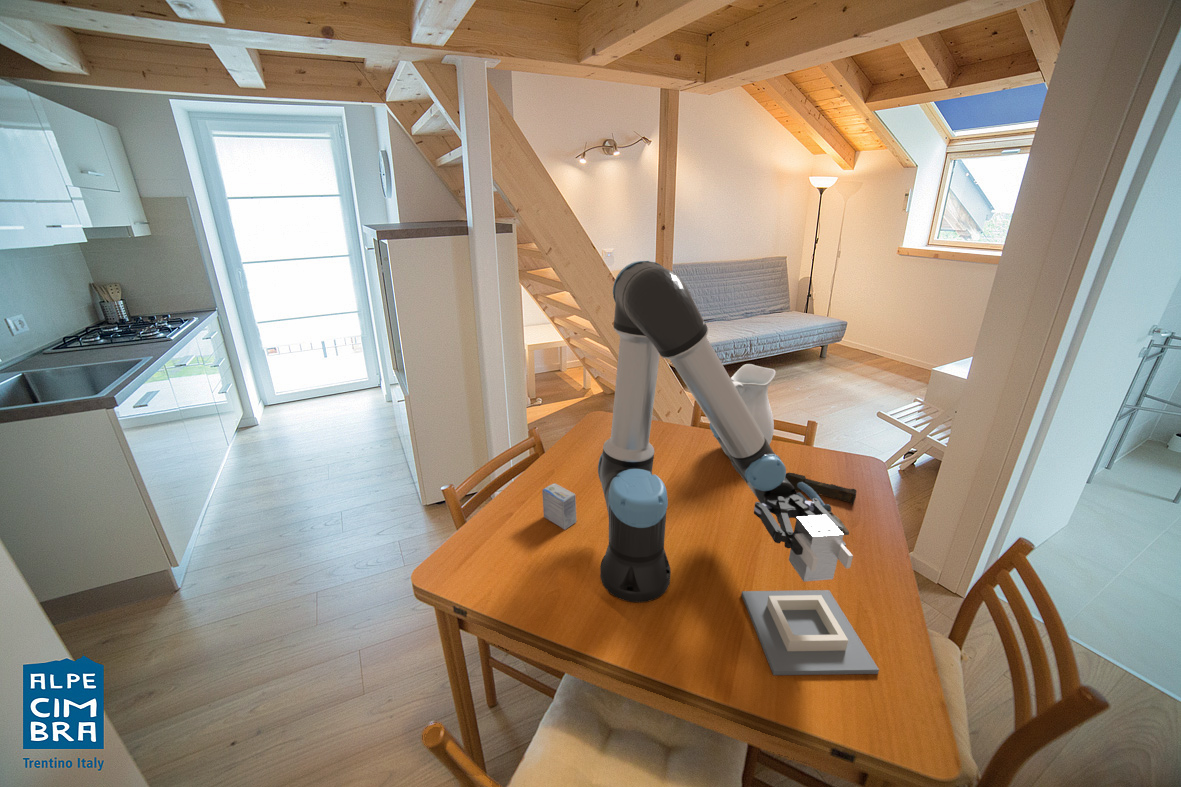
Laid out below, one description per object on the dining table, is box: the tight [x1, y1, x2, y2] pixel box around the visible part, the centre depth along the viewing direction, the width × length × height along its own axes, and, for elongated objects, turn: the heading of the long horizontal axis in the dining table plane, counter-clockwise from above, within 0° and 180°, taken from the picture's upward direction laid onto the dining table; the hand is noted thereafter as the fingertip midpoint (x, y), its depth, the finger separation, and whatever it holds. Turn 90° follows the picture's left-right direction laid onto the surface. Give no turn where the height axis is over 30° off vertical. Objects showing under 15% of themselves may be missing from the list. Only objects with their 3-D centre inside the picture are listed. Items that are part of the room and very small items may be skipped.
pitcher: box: [721, 363, 777, 457], centre depth 146 cm, size 24×17×28 cm
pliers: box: [797, 482, 850, 536], centre depth 120 cm, size 20×2×6 cm, turn 9°
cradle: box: [741, 589, 880, 676], centre depth 89 cm, size 18×18×4 cm
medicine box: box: [541, 483, 577, 530], centre depth 120 cm, size 8×4×9 cm, turn 47°
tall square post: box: [788, 515, 845, 582], centre depth 87 cm, size 6×6×10 cm
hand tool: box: [785, 472, 857, 506], centre depth 132 cm, size 19×4×5 cm, turn 59°
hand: (832, 563), depth 82 cm, fingers closed on tall square post, 6 cm apart
